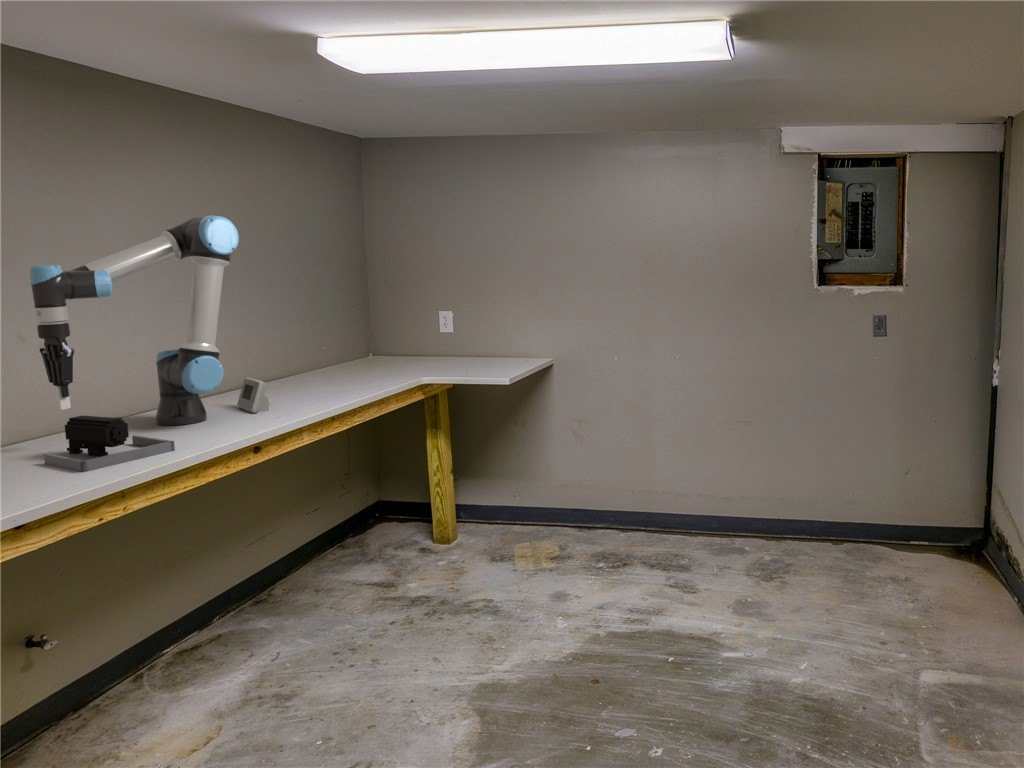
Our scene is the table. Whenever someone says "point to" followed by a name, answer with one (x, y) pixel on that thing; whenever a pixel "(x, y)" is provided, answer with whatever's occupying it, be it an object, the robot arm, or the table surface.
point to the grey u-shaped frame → (114, 455)
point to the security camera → (95, 434)
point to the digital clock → (253, 396)
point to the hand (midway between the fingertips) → (64, 408)
